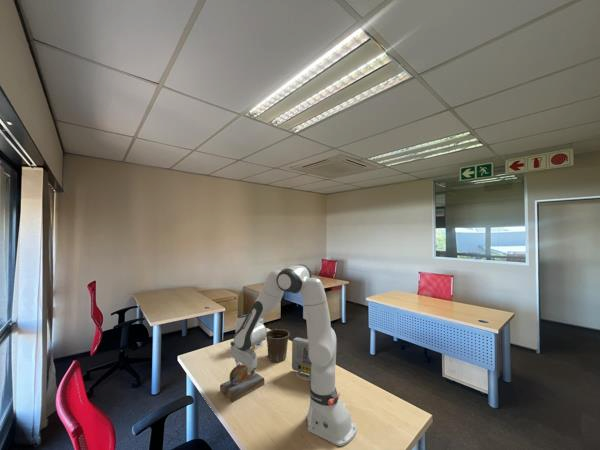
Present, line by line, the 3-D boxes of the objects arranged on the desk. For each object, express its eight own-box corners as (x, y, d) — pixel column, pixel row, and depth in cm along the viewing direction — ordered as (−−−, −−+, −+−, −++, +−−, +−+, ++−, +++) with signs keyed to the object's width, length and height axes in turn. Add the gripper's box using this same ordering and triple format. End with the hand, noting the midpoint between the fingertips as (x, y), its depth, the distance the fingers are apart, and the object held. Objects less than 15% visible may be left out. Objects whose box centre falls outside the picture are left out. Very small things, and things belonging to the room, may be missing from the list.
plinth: (264, 384, 137) (264, 377, 137) (232, 402, 122) (232, 394, 122) (251, 376, 145) (251, 369, 145) (220, 391, 130) (220, 384, 130)
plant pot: (273, 350, 178) (273, 327, 178) (293, 355, 170) (293, 331, 171) (260, 360, 163) (260, 335, 163) (281, 366, 156) (281, 340, 156)
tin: (231, 387, 127) (231, 371, 128) (228, 385, 129) (228, 368, 130) (255, 375, 138) (255, 360, 139) (251, 373, 140) (252, 358, 141)
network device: (335, 378, 144) (335, 343, 144) (331, 386, 136) (331, 349, 136) (296, 367, 154) (296, 335, 155) (289, 375, 146) (290, 340, 147)
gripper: (260, 348, 130) (260, 375, 129) (238, 337, 143) (238, 361, 143) (250, 353, 125) (250, 381, 124) (228, 341, 139) (228, 366, 138)
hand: (243, 370), depth 134 cm, fingers open, 8 cm apart
